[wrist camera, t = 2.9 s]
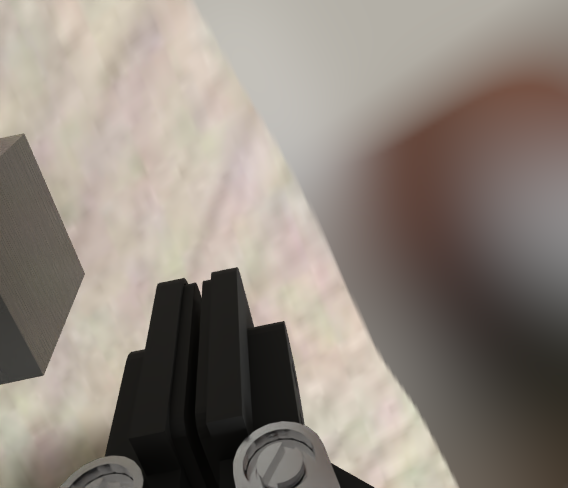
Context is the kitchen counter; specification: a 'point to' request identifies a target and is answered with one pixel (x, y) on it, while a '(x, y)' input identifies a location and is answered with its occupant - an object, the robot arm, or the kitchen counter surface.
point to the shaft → (31, 266)
